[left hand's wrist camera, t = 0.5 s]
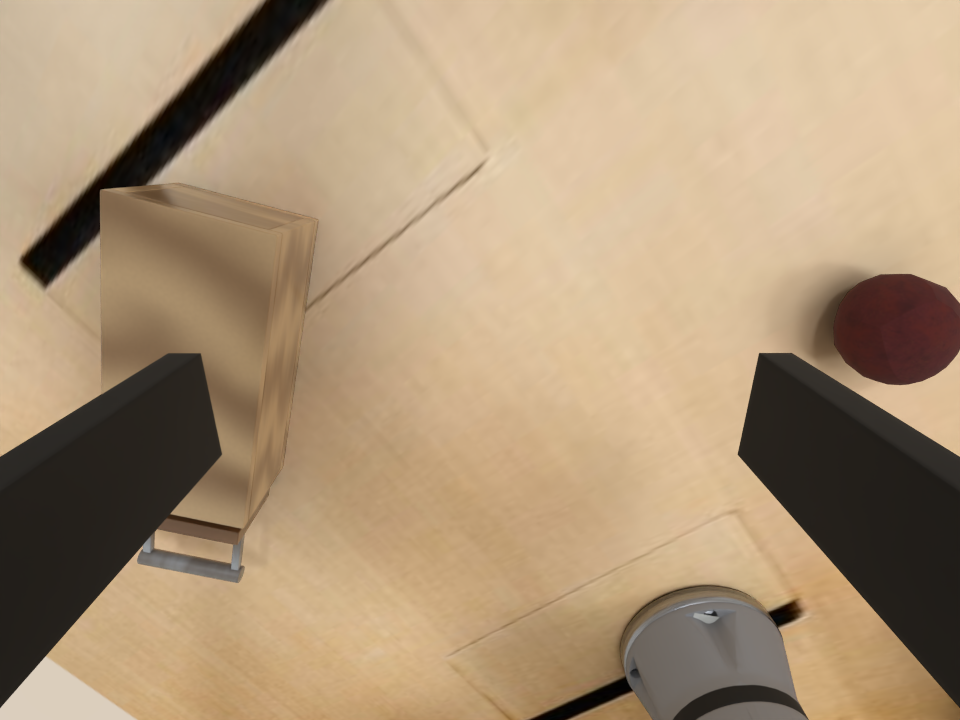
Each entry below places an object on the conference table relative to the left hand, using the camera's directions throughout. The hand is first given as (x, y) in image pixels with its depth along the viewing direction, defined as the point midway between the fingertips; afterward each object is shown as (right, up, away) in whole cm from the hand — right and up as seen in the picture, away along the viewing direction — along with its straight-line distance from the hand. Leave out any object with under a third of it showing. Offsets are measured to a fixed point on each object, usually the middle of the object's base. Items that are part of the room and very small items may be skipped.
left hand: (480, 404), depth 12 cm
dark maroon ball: (+29, +5, +27) cm, 40 cm away
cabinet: (-19, +3, +27) cm, 33 cm away
